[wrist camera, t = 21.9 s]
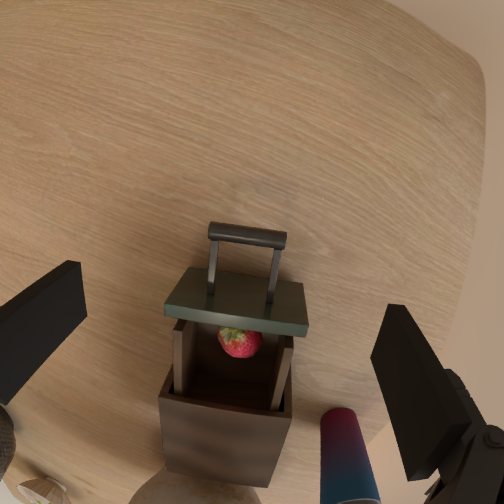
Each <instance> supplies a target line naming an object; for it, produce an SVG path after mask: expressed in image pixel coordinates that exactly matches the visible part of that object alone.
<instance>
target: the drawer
mask: <svg viewBox="0 0 504 504" xmlns="http://www.w3.org/2000/svg"><path fill="white" fill-rule="evenodd" d="M286 238H287V232H284V231H277V230H270V229H263V228H256V227H249V226H241V225H234V224H227V223H219V222H210V224H209V228H208V239H211V243H210V255H209V267H208V270H207V269H201V268H194V267H188V269H187V270H186V272H185V273H184V275H183V276H182V277H181V279H180V280H179V282H178V283H177V285H176V286H175V288H174V289H173V291H172V292H171V294H170V295H169V297H168V298H167V300H166V301H165V303H164V316H168V317H173V318H179V320H178V321H177V323H176V325H175V327H174V329H173V370H174V395H178V396H182V397H187V398H192V399H197V400H202V401H208V402H213V403H219V404H225V405H232V406H238V407H245V408H252V409H260V410H268V411H277V412H278V409H279V405H280V401H281V398H282V394H283V390H284V386H285V382H286V378H287V374H288V371H289V367H290V362H291V358H292V354H293V350H294V342H293V336H296V337H306V335H307V331H308V327H309V323H308V316H307V309H306V302H305V295H304V288H303V283H297V282H290V281H282V280H277V276H278V270H279V263H280V257H281V251H282V250H284V249H285V245H286ZM219 241H226V242H233V243H240V244H247V245H254V246H261V247H268V248H274V251H273V258H272V264H271V271H270V277H269V279H268V278H261V277H254V276H247V275H240V274H234V273H227V272H220V271H216V270H217V259H218V248H219ZM219 326H225V327H231V328H238V329H244V330H251V331H258V332H261V333H262V337H263V342H262V343H261V346H260V347H259V349H258V351H257V352H256V353H255V354H254V355H253V356H250V357H248V358H239V357H233V356H231V355H229V354H228V353H227V352H226V351H225V350H224V349H223V347H222V345H221V343H220V341H219V339H218V328H219Z"/></svg>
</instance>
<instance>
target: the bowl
mask: <svg viewBox="0 0 504 504" xmlns="http://www.w3.org/2000/svg"><path fill="white" fill-rule="evenodd" d="M16 487H17V488H18V490H19V491H20V492H21V493H22V494H23V495H24V496H25V497H26V498H27V499H28V500H29V501H31V502H32V503H33V504H71V502H70V500H69V498H68V496H67V495H66V493H65V491H67V489H66V488H65V487H64V486H63V485H62V484H60V483H59V482H57V481H56V480H54V479H52V478H49V477H46V480H42V479H35V480H28V481H25V482H23V483H21V484H19V485H17V486H16Z"/></svg>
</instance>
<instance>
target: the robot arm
mask: <svg viewBox="0 0 504 504" xmlns="http://www.w3.org/2000/svg"><path fill="white" fill-rule="evenodd" d="M86 317H87V310H86V303H85V296H84V288H83V280H82V271H81V262H76V261H71V260H67V261H65V262H64V263H62V264H61V265H59V266H58V267H56V268H55V269H53V270H52V271H50V272H49V273H47V274H46V275H44V276H43V277H42V278H40V279H39V280H37V281H36V282H34V283H33V284H32V285H30V286H29V287H27V288H26V289H25V290H23V291H22V292H20V293H19V294H18V295H16V296H15V297H14V298H12V299H11V300H9V301H8V302H7V303H5V304H4V305H3V306H0V403H1V404H3V405H5V406H6V405H7V404H8V403H9V402H10V401H11V399H12V398H13V397H14V396H15V395H16V393H17V392H18V391H19V390H20V389H21V388H22V387H23V385H24V384H25V383H26V382H27V381H28V380H29V378H30V377H31V376H32V375H33V374H34V373H35V372H36V371H37V369H38V368H39V367H40V366H41V365H42V364H43V363H44V362H45V361H46V359H47V358H48V357H49V356H50V355H51V354H52V353H53V352H54V351H55V350H56V349H57V347H58V346H59V345H60V344H61V343H62V342H63V341H64V340H65V339H66V338H67V337H68V336H69V335H70V334H71V333H72V332H73V330H74V329H75V328H76V327H77V326H78V325H79V324H80V323H81V322H82V321H83V320H84V319H85V318H86ZM370 359H371V361H372V364H373V367H374V370H375V373H376V376H377V379H378V382H379V385H380V388H381V391H382V394H383V398H384V401H385V404H386V407H387V410H388V414H389V417H390V420H391V423H392V427H393V430H394V433H395V437H396V440H397V444H398V447H399V451H400V454H401V458H402V462H403V465H404V469H405V473H406V476H407V480H408V481H416V480H422V479H428V478H429V477H430V476H431V475H432V474H433V473H434V471H435V470H436V469H437V468H438V470H439V474H440V477H439V479H438V480H437V481H436V482H435V483H434V484H433V485H432V486H431V487H430V488H429V489H428V490H427V492H426V493H425V495H428V494H429V495H428V497H427V499H426V501H425V502H424V504H504V431H503V430H502V429H500V428H499V427H497V426H494V425H487V424H486V422H485V421H484V419H483V417H482V415H481V413H480V411H479V410H478V408H477V406H476V404H475V403H474V401H473V399H472V398H471V397H470V394H469V392H468V390H467V389H465V388H466V387H465V385H464V384H463V382H462V380H461V379H460V377H459V376H458V375H457V374H455V373H454V372H453V371H452V370H451V369H444V368H443V367H442V365H441V363H440V361H439V360H438V358H437V356H436V355H435V353H434V351H433V350H432V348H431V346H430V345H429V343H428V341H427V340H426V338H425V337H424V335H423V333H422V332H421V330H420V329H419V327H418V325H417V324H416V322H415V321H414V319H413V318H412V316H411V314H410V313H409V311H408V310H407V308H406V307H405V305H398V304H388V306H387V309H386V312H385V315H384V319H383V322H382V325H381V328H380V331H379V334H378V337H377V340H376V343H375V345H374V348H373V351H372V354H371V357H370Z"/></svg>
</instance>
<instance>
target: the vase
mask: <svg viewBox="0 0 504 504" xmlns="http://www.w3.org/2000/svg"><path fill="white" fill-rule="evenodd" d="M129 504H261V502H260V500H259V498H258V496H257V494H256V492H255V490H254V488H253V486H244V485H237V484H230V483H223V482H217V481H211V480H205V479H200V478H195V477H190V476H185V475H181V474H176V473H172V472H168V471H167V470H166V466H165V467H164V468H163V469H162V470H161V471H159V472H158V473H157V474H156V475H155V476H153V477H152V478H151V479H150V480H148V481H147V482H146V483H145V484H144V485H142V486H141V487H140V488H139V489H138V490H137V492H136V493H135V494H134V496H133V497H132V499H131V500H130V502H129Z"/></svg>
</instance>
